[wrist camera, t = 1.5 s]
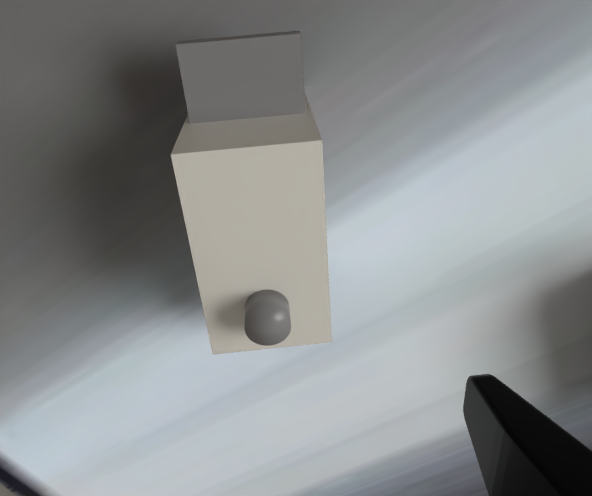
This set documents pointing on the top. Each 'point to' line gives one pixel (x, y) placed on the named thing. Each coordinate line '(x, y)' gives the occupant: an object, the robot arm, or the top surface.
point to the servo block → (253, 192)
